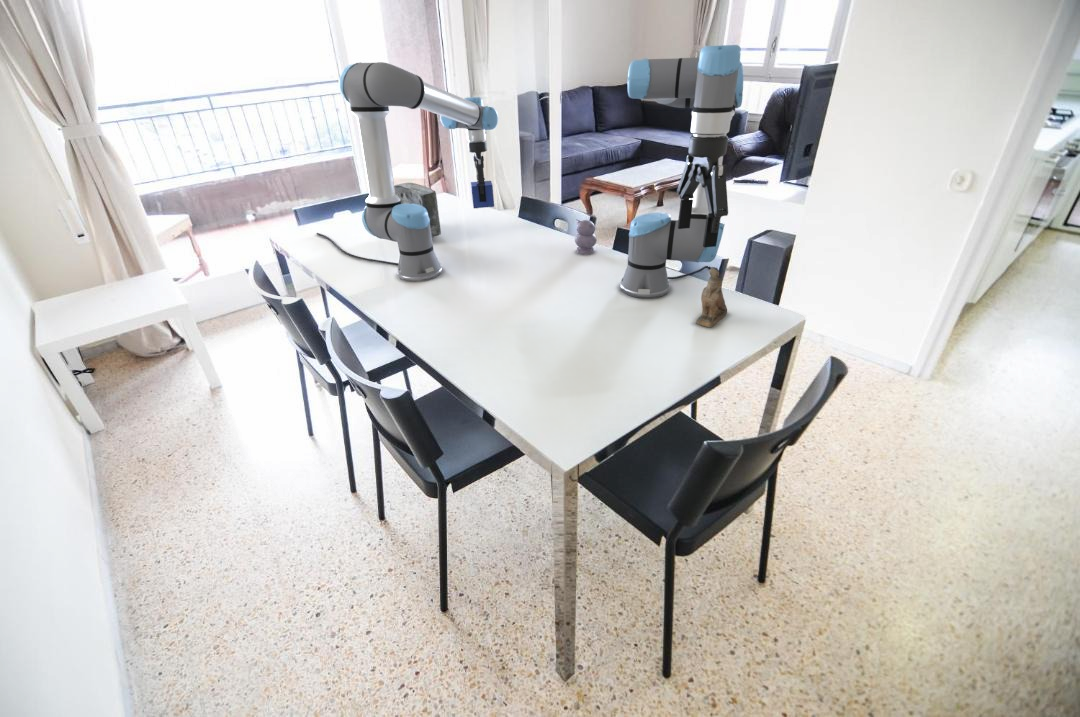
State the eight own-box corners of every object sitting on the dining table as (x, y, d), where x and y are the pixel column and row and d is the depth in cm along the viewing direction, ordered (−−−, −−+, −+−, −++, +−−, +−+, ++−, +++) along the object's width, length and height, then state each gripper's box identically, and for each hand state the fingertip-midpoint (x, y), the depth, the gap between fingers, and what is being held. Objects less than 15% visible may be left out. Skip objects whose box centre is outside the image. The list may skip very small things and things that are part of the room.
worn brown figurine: (709, 335, 136) (713, 280, 124) (691, 329, 139) (693, 274, 128) (730, 313, 142) (736, 258, 130) (712, 307, 145) (716, 253, 133)
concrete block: (446, 240, 206) (439, 191, 196) (426, 245, 202) (419, 195, 192) (419, 226, 225) (412, 180, 215) (401, 230, 221) (392, 184, 210)
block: (473, 208, 207) (471, 186, 203) (472, 203, 214) (470, 182, 209) (494, 206, 208) (492, 184, 204) (492, 202, 215) (491, 180, 210)
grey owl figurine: (600, 251, 189) (601, 219, 183) (587, 257, 184) (588, 225, 178) (583, 246, 194) (583, 216, 188) (570, 252, 190) (570, 220, 183)
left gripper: (488, 144, 189) (493, 204, 201) (484, 136, 207) (489, 192, 219) (468, 145, 189) (474, 205, 200) (466, 137, 206) (472, 193, 218)
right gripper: (759, 142, 91) (738, 253, 102) (700, 126, 112) (688, 220, 123) (720, 144, 90) (704, 256, 101) (668, 128, 111) (659, 222, 122)
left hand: (482, 198), depth 210 cm, fingers closed on block, 8 cm apart
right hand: (695, 237), depth 112 cm, fingers open, 13 cm apart
